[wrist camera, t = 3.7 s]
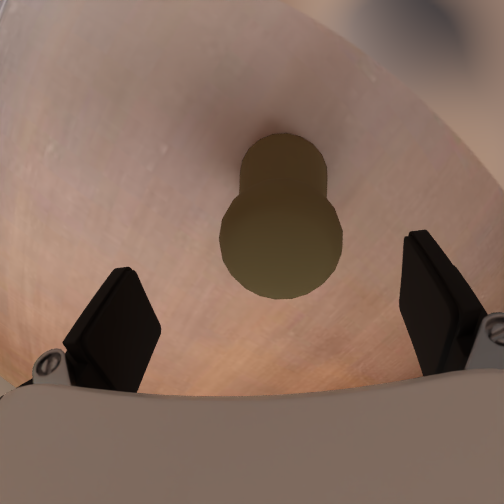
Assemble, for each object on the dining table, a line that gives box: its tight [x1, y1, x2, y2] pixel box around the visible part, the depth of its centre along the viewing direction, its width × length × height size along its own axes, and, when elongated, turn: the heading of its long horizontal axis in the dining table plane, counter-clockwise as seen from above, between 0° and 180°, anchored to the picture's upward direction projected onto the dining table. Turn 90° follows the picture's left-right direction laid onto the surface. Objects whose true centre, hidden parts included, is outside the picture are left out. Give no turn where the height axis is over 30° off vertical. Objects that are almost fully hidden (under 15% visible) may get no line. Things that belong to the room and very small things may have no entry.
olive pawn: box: [219, 133, 343, 299], centre depth 17 cm, size 6×6×11 cm
